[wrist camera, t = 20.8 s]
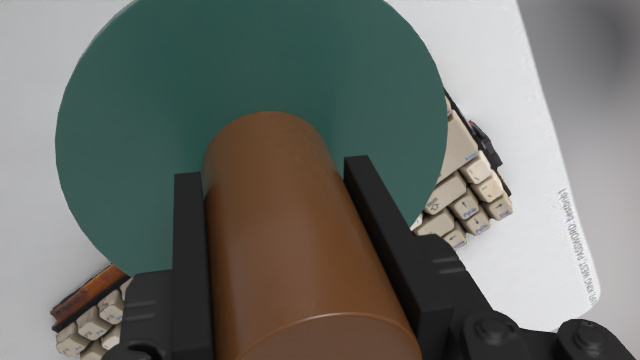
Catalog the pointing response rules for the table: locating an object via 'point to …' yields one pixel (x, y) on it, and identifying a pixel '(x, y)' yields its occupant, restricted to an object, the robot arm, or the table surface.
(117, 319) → the mechanical keyboard
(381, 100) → the lid
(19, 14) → the table surface
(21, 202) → the table surface
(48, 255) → the table surface
